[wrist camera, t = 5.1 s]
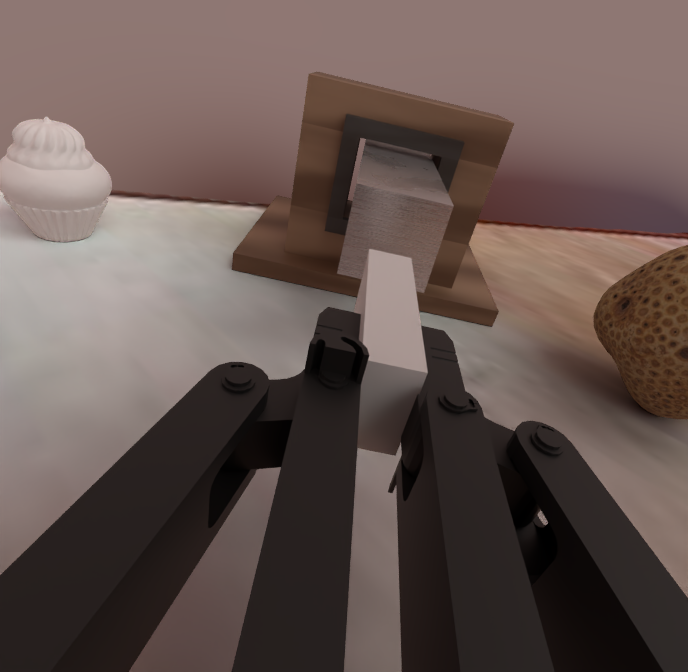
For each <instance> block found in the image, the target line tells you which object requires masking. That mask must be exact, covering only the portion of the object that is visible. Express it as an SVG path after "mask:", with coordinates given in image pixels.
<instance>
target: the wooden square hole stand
mask: <svg viewBox="0 0 688 672" xmlns="http://www.w3.org/2000/svg"><path fill="white" fill-rule="evenodd" d="M513 126H514V123H512V122H511V121H509V120H507V119H505V118H503V117H501V116H499V115H495V114H491V113H486V112H482V111H478V110H474V109H470V108H466V107H462V106H458V105H454V104H449V103H445V102H441V101H437V100H433V99H429V98H425V97H420V96H416V95H412V94H408V93H404V92H400V91H395V90H391V89H387V88H383V87H379V86H375V85H371V84H367V83H362V82H358V81H354V80H350V79H346V78H342V77H338V76H333V75H329V74H325V73H321V72H315V73H311V74H309V76H308V84H307V91H306V98H305V105H304V112H303V120H302V127H301V134H300V141H299V149H298V156H297V163H296V171H295V178H294V185H293V192H292V199H290V198H286V197H282V196H276V198H275V199H274V200H273V202H272V203H271V204H270V206H269V207H268V208H267V209H266V211H265V212H264V213H263V215H262V216H261V217H260V219H259V220H258V221H257V222H256V224H255V225H254V226H253V228H252V229H251V230H250V232H249V233H248V234H247V236H246V237H245V238H244V239H243V241H242V242H241V243H240V245H239V246H238V247H237V249H236V250H235V251H234V253H233V263H232V270H237V271H241V272H246V273H250V274H255V275H259V276H264V277H269V278H273V279H278V280H282V281H287V282H291V283H296V284H300V285H305V286H310V287H314V288H319V289H323V290H328V291H332V292H337V293H342V294H346V295H351V296H355V297H357V296H358V292H359V288H360V284H361V280H362V279H359V278H354V277H350V276H345V275H341V274H337V272H338V267H339V262H340V258H341V253H342V248H343V244H344V239H345V234H346V230H347V225H348V220H349V216H350V211H351V206H352V202H353V201H350V200H348V195H349V190H350V185H351V180H352V176H353V171H354V166H355V161H356V156H357V151H358V147H359V142H360V138H365V139H369V140H373V141H377V142H381V143H386V144H390V145H394V146H398V147H403V148H407V149H411V150H415V151H420V152H424V153H428V154H432V155H431V158H432V160H433V162H434V164H435V166H436V169H437V171H438V173H439V175H440V177H441V179H442V182H443V184H444V186H445V188H446V190H447V192H448V195H449V197H450V199H451V201H452V203H453V205H454V207H453V210H452V213H451V216H450V219H449V221H448V224H447V227H446V230H445V233H444V236H443V239H442V242H441V245H440V248H439V251H438V254H437V256H436V259H435V262H434V265H433V268H432V271H431V274H430V277H429V280H428V283H427V286H426V289H425V291H424V293H422V292H418V291H416V294H417V301H418V308H419V311H424V312H428V313H433V314H437V315H442V316H446V317H451V318H456V319H460V320H465V321H469V322H474V323H478V324H483V325H487V326H492V325H493V323H494V321H495V319H496V316H497V314H498V312H499V311H498V309H497V307H496V304H495V302H494V300H493V298H492V295H491V293H490V291H489V289H488V287H487V284H486V282H485V280H484V278H483V275H482V273H481V271H480V269H479V266H478V264H477V262H476V260H475V257H474V255H473V253H472V251H471V248H470V246H469V242H470V239H471V236H472V234H473V231H474V228H475V226H476V223H477V220H478V218H479V215H480V212H481V210H482V207H483V204H484V202H485V199H486V197H487V194H488V191H489V189H490V186H491V184H492V181H493V178H494V176H495V173H496V170H497V168H498V165H499V162H500V159H501V157H502V154H503V152H504V149H505V147H506V144H507V141H508V139H509V136H510V133H511V131H512V128H513Z"/></svg>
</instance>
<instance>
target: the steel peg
mask: <svg viewBox="0 0 688 672" xmlns="http://www.w3.org/2000/svg"><path fill="white" fill-rule="evenodd" d="M453 207H454V205H453V203H452V201H451V199H450V197H449V195H448V192H447V190H446V188H445V186H444V184H443V182H442V179H441V177H440V175H439V173H438V171H437V169H436V166H435V164H434V162H433V160H432V158H431V156H430V154H428V153H424V152H420V151H415V150H411V149H407V148H403V147H398V146H394V145H390V144H386V143H381V142H377V141H373V140H369V139H366V142H365V146H364V151H363V156H362V160H361V165H360V170H359V174H358V179H357V183H356V188H355V193H354V197H353V202H352V206H351V211H350V216H349V220H348V225H347V230H346V234H345V239H344V244H343V248H342V253H341V258H340V262H339V267H338V272H337V274H341V275H345V276H350V277H354V278H359V279H362V276H363V272H364V268H365V264H366V260H367V256H368V252H369V249H373V250H377V251H382V252H386V253H391V254H395V255H400V256H404V257H409V258H411V259H412V266H413V273H414V280H415V287H416V291H418V292H422V293H424V291H425V289H426V286H427V283H428V280H429V277H430V274H431V271H432V268H433V265H434V262H435V259H436V256H437V254H438V251H439V248H440V245H441V242H442V239H443V236H444V233H445V230H446V227H447V224H448V221H449V219H450V216H451V213H452V210H453Z"/></svg>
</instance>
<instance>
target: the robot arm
mask: <svg viewBox="0 0 688 672" xmlns="http://www.w3.org/2000/svg"><path fill="white" fill-rule="evenodd" d="M455 353H456V352H455V348H454V344H453V341H452V340H451V339H450V337H449V336H448V335H447V334H446V333H445V331H443V330H438V329H434V328H429V327H424V326H421V322H420V315H419V308H418V301H417V294H416V287H415V280H414V273H413V266H412V259H411V258H409V257H404V256H400V255H395V254H391V253H386V252H382V251H377V250H373V249H369V252H368V256H367V260H366V264H365V268H364V272H363V276H362V280H361V284H360V288H359V292H358V296H357V300H356V304H355V308H354V312H349V311H344V310H340V309H335V308H330V307H328V308H326V309H325V310H324V311H323V312H321V313H320V314H319V317H318V321H317V326H316V330H315V334H314V338H313V339H312V341H311V342H310V345H309V350H308V355H307V360H306V365H305V369H304V370H303V371H302V372H301V373H300V374H298V375H296V376H294V377H291V378H288V379H280V380H269V379H268V376H267V375H266V374H265V373H264V371H263V370H262V369H260V368H258V367H256V366H254V365H252V364H248V363H243V362H229V363H225V364H221V365H218V366H217V367H215V368H214V369H212V370H211V371H209V372H208V373H207V374H206V375H205V376H204V377H203V378H202V379H201V380H200V381H199V382H198V383H197V384H196V385H195V386H194V387H193V388H192V389H191V390H190V391H189V392H188V393H187V394H186V395H185V396H184V397H183V398H182V399H181V400H180V401H179V402H178V403H177V404H176V405H175V406H174V407H173V408H171V409H170V410H169V411H168V412H167V413H166V414H165V415H164V416H163V417H162V418H161V419H160V420H159V421H158V422H157V423H156V424H155V425H154V426H153V427H152V428H151V429H150V430H149V431H148V432H147V433H146V434H145V435H144V436H143V437H142V438H141V439H140V440H139V441H138V442H137V443H136V444H135V445H134V446H132V447H131V448H130V449H129V450H128V451H127V452H126V453H125V454H124V455H123V456H122V457H121V458H120V459H119V460H118V461H117V462H116V463H115V464H114V465H113V466H112V467H111V468H110V469H109V470H108V471H107V472H106V473H105V474H104V475H103V476H102V477H101V478H100V479H99V480H98V481H97V482H96V483H95V484H93V485H92V486H91V487H90V488H89V489H88V490H87V491H86V492H85V493H84V494H83V495H82V496H81V497H80V498H79V499H78V500H77V501H76V502H75V503H74V504H73V505H72V506H71V507H70V508H69V509H68V510H67V511H66V512H65V513H64V514H63V515H62V516H61V517H60V518H59V519H58V520H57V521H56V522H55V523H53V524H52V525H51V526H50V527H49V528H48V529H47V530H46V531H45V532H44V533H43V534H42V535H41V536H40V537H39V538H38V539H37V540H36V541H35V542H34V543H33V544H32V545H31V546H30V547H29V548H28V549H27V550H26V551H25V552H24V553H23V554H22V555H21V556H20V557H19V558H18V559H17V560H16V561H14V562H13V563H12V564H11V565H10V566H9V567H8V568H7V569H6V570H5V571H4V572H3V573H2V574H1V575H0V672H129V670H130V669H131V667H132V665H133V664H134V662H135V661H136V659H137V658H138V656H139V654H140V653H141V651H142V650H143V648H144V647H145V645H146V644H147V642H148V640H149V639H150V637H151V636H152V634H153V633H154V631H155V629H156V628H157V626H158V625H159V623H160V622H161V620H162V619H163V617H164V615H165V614H166V612H167V611H168V609H169V608H170V606H171V604H172V603H173V601H174V600H175V598H176V597H177V595H178V593H179V592H180V590H181V589H182V587H183V586H184V584H185V583H186V581H187V579H188V578H189V576H190V575H191V573H192V572H193V570H194V568H195V567H196V565H197V564H198V562H199V561H200V559H201V558H202V556H203V554H204V553H205V551H206V550H207V548H208V547H209V545H210V543H211V542H212V540H213V539H214V537H215V536H216V534H217V533H218V531H219V529H220V528H221V526H222V525H223V523H224V522H225V520H226V518H227V517H228V515H229V514H230V512H231V511H232V509H233V507H234V506H235V504H236V503H237V501H238V500H239V498H240V497H241V495H242V493H243V492H244V490H245V489H246V487H247V486H248V484H249V482H250V481H251V479H252V478H253V476H254V475H255V472H256V470H257V469H263V468H274V467H281V470H280V474H279V478H278V483H277V487H276V491H275V495H274V499H273V503H272V507H271V512H270V516H269V520H268V524H267V528H266V532H265V536H264V541H263V545H262V549H261V553H260V557H259V561H258V565H257V569H256V574H255V578H254V582H253V586H252V590H251V594H250V598H249V603H248V607H247V611H246V615H245V619H244V623H243V627H242V631H241V636H240V640H239V644H238V648H237V652H236V656H235V660H234V665H233V669H232V672H344V657H345V640H346V624H347V607H348V591H349V574H350V558H351V541H352V525H353V508H354V492H355V475H356V459H357V448H360V449H365V450H370V451H375V452H380V453H385V454H390V455H396V453H397V450H398V448H399V445H400V443H401V448H402V456H401V458H400V461H399V463H398V466H397V468H396V471H395V473H394V476H393V478H392V481H391V483H390V486H389V490H388V492H390V493H393V490H394V488H395V486H397V520H398V554H399V589H400V623H401V657H402V672H688V598H687V596H686V595H685V594H684V592H683V591H682V590H681V588H680V587H679V586H678V584H677V583H676V582H675V580H674V579H673V578H672V576H671V575H670V574H669V572H668V571H667V570H666V568H665V567H664V566H663V564H662V563H661V562H660V560H659V559H658V558H657V556H656V555H655V554H654V552H653V551H652V550H651V548H650V547H649V546H648V544H647V543H646V542H645V540H644V539H643V538H642V536H641V535H640V534H639V532H638V531H637V530H636V528H635V527H634V526H633V524H632V523H631V522H630V520H629V519H628V518H627V516H626V515H625V514H624V512H623V511H622V510H621V508H620V507H619V506H618V504H617V503H616V502H615V500H614V499H613V498H612V496H611V495H610V494H609V492H608V491H607V490H606V488H605V487H604V486H603V484H602V483H601V482H600V480H599V479H598V478H597V476H596V475H595V474H594V472H593V471H592V470H591V468H590V467H589V466H588V464H587V463H586V462H585V460H584V459H583V458H582V456H581V455H580V454H579V452H578V451H577V450H576V448H575V447H574V446H573V444H572V443H571V442H570V441H569V440H568V439H567V438H566V437H565V436H564V435H563V434H562V433H560V432H559V431H557V430H556V429H554V428H553V427H551V426H548V425H546V424H543V423H540V422H535V421H526V422H522V423H521V424H520V425H519V426H517V428H516V430H515V431H512V430H510V429H508V428H505V427H503V426H501V425H499V424H496V423H494V422H492V421H490V420H488V419H486V418H485V417H484V415H483V411H482V408H481V406H480V405H479V403H478V401H477V400H476V399H475V398H474V397H473V396H472V395H471V394H469V393H467V392H466V391H465V388H464V384H463V380H462V376H461V372H460V368H459V364H458V360H457V356H456V354H455ZM540 510H541V511H542V512H543V514H544V516H545V518H546V519H547V521H548V524H547V525H546V526H545V525H544V524H543V523H542V522H541V520H540V519H539V517H538V515H537V514H538V513H539V512H540Z"/></svg>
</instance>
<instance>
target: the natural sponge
mask: <svg viewBox="0 0 688 672" xmlns="http://www.w3.org/2000/svg"><path fill="white" fill-rule="evenodd" d="M594 328H595V331H596V334H597V336H598V339H599V340H600V342H601V343H602V345H603V346H604V348H605V349H606V350H607V352H608V353H609V354H610V355H611V356H612V358H613V359H614V361H615V363H616V364H617V367H618V369H619V372H620V374H621V377H622V379H623V381H624V384H625V386H626V388H627V390H628V392H629V393H630V395H631V396H632V397H633V399H634V400H635V401H636V402H637V403H638V404H639V405H640V406H641V407H642V408H644V409H645V410H647V411H648V412H650V413H652V414H655V415H657V416H660V417H667V418H674V419H688V245H686V246H682V247H679V248H676V249H674V250H671V251H668V252H666V253H664V254H662V255H660V256H659V257H657V258H655V259H654V260H652V261H650V262H648V263H646V264H644V265H643V266H641V267H640V268H638V269H636V270H635V271H633V272H631V273H630V274H628V275H627V276H625V277H624V278H623V279H621V280H620V281H618V282H617V283H615V284H614V285H612V286H611V287H610V288H609V289H608V290H607V291H606V292H605V293H604V294H603V296H602V298H601V299H600V301H599V303H598V305H597V307H596V310H595V312H594Z"/></svg>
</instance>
